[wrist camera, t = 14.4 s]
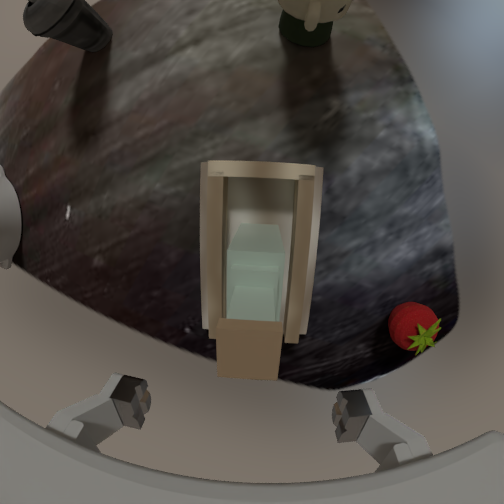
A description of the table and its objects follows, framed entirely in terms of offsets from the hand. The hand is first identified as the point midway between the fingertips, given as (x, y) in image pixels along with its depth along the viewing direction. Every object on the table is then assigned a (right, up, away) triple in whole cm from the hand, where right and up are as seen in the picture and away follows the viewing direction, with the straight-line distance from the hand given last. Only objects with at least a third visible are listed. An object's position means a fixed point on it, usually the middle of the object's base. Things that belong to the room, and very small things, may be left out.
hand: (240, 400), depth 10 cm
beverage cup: (-21, +36, +15) cm, 44 cm away
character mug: (+7, +33, +14) cm, 36 cm away
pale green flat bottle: (+1, +6, +20) cm, 21 cm away
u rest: (+1, +6, +22) cm, 23 cm away
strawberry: (+20, -1, +23) cm, 31 cm away
